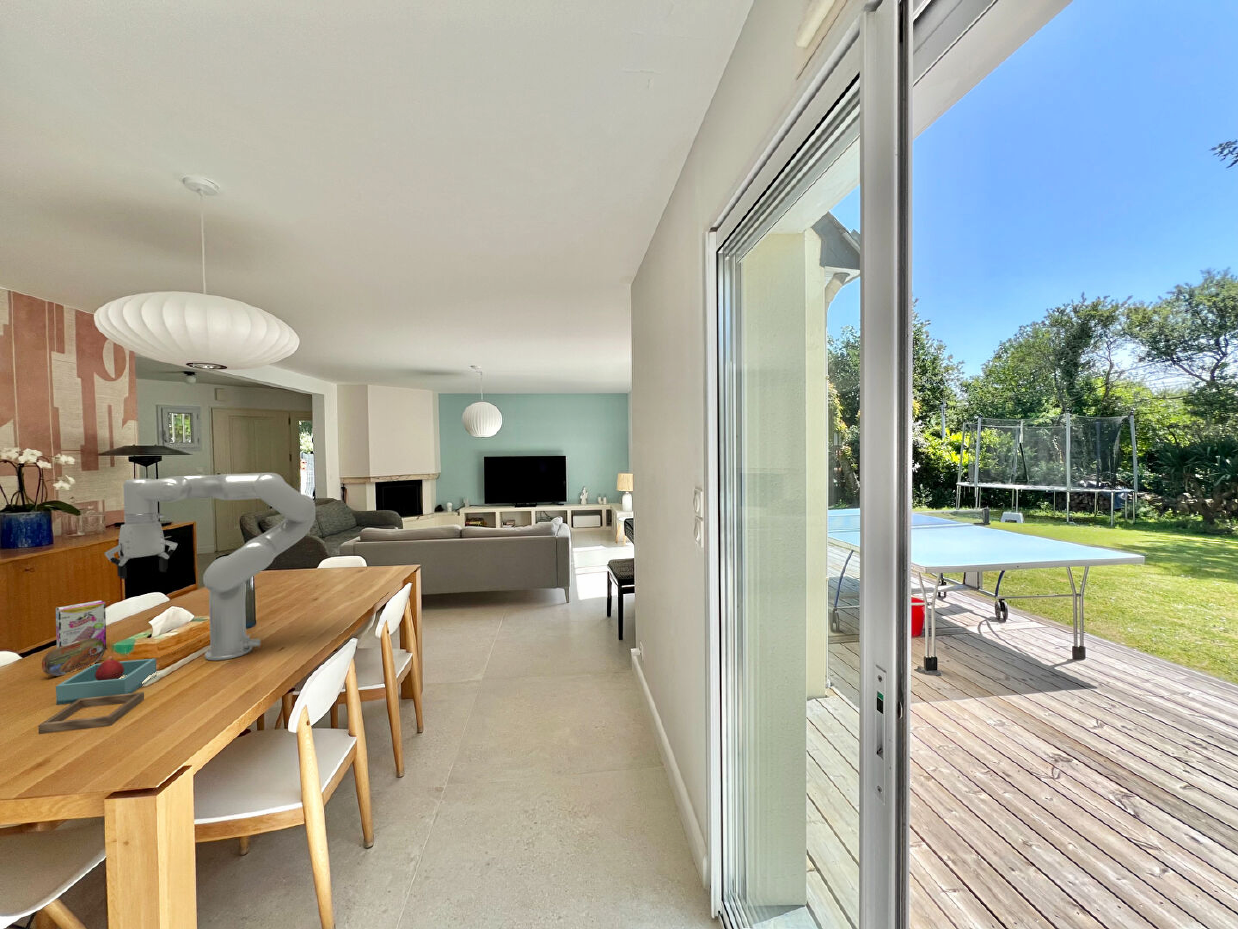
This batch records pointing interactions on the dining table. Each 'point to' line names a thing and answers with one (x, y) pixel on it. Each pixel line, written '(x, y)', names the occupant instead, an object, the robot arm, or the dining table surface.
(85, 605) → the candy bar box
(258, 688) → the dining table surface
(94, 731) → the dining table surface
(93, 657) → the tin
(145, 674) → the bin
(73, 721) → the frame
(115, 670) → the onion
